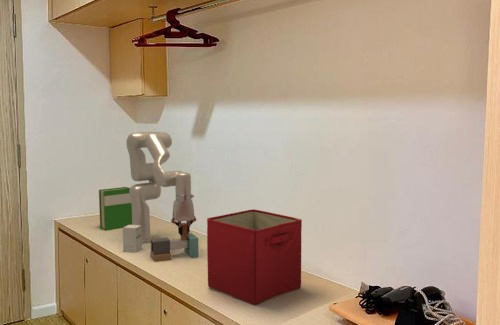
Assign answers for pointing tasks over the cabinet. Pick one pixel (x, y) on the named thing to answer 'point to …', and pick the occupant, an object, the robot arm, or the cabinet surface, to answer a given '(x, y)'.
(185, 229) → the multicoloured piece
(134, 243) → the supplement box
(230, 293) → the storage cube
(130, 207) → the hardback book
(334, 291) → the cabinet surface
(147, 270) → the cabinet surface
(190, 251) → the socket
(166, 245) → the grey block with backplate
